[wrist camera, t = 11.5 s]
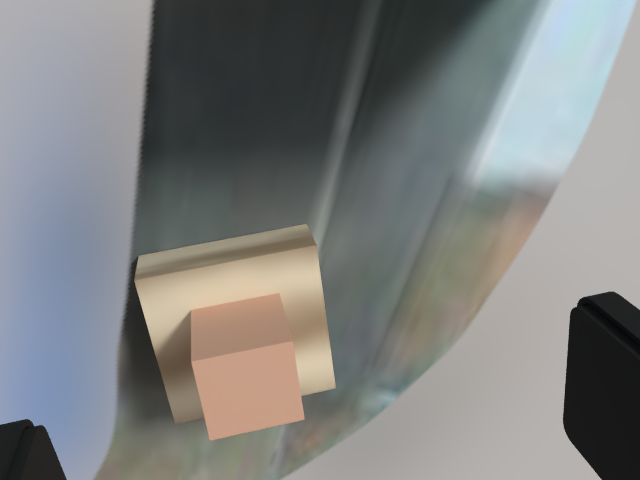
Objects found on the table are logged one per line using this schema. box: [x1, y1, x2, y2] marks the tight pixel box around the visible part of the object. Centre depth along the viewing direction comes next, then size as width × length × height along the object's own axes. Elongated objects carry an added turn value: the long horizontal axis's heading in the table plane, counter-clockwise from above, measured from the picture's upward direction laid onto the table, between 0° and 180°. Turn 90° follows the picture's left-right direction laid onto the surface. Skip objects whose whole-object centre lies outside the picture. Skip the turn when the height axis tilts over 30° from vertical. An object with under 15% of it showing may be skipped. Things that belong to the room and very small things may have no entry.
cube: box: [191, 293, 305, 440], centre depth 36 cm, size 6×6×6 cm
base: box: [134, 224, 336, 424], centre depth 40 cm, size 11×11×4 cm
